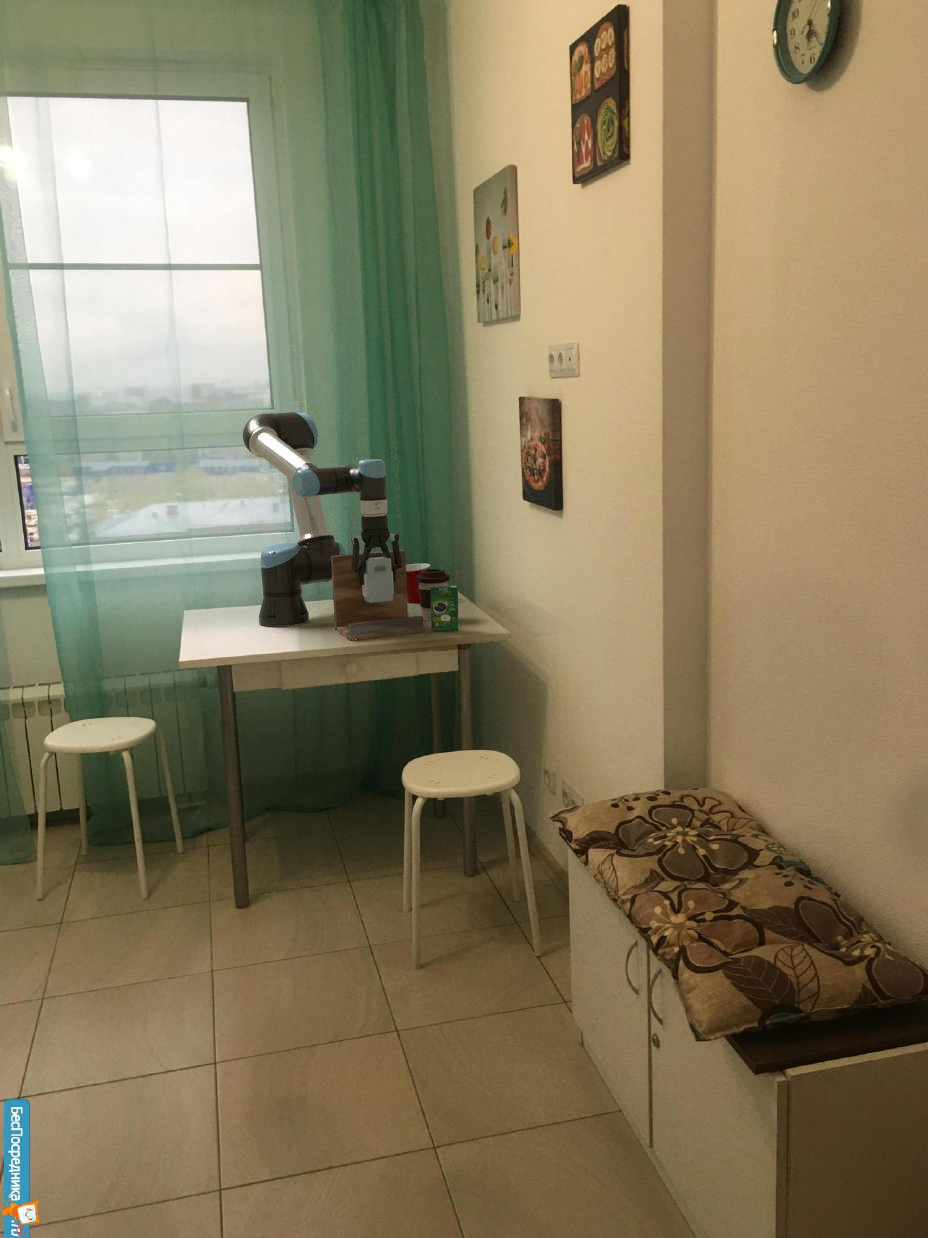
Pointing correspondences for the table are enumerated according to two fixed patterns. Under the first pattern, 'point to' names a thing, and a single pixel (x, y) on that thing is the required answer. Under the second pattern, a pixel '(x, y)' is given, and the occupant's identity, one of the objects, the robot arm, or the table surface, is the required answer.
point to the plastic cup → (414, 581)
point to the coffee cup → (425, 582)
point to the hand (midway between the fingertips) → (378, 594)
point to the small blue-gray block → (379, 579)
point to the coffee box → (444, 608)
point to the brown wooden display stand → (365, 617)
